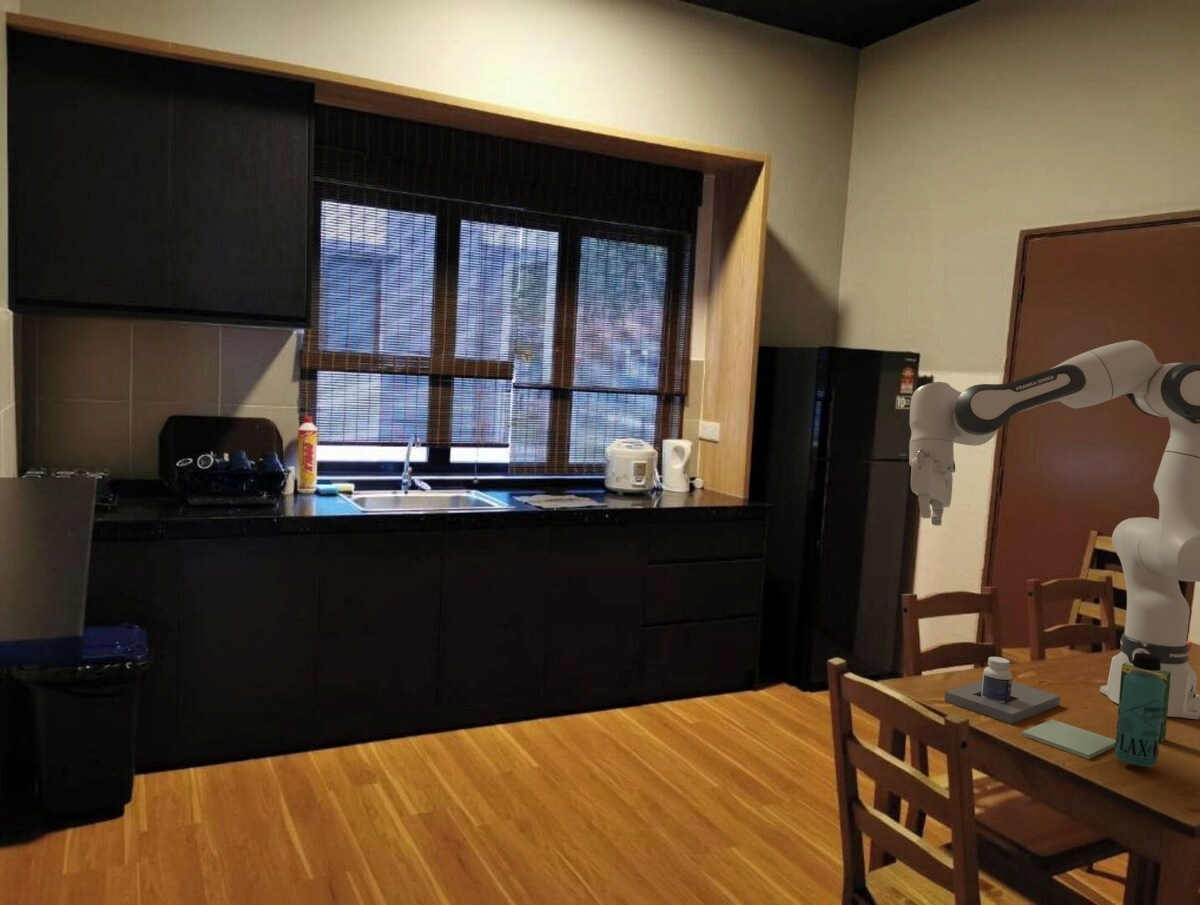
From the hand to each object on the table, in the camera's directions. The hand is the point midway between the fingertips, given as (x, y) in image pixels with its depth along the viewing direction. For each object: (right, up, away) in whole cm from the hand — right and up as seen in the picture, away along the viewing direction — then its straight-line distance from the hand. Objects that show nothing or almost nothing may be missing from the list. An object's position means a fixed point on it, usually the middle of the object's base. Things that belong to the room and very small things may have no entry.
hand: (931, 521), depth 187 cm
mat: (+18, -39, -21) cm, 48 cm away
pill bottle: (+11, -38, -5) cm, 39 cm away
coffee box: (+34, -40, -16) cm, 55 cm away
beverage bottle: (+24, -40, -32) cm, 57 cm away
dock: (+14, -37, -3) cm, 40 cm away
